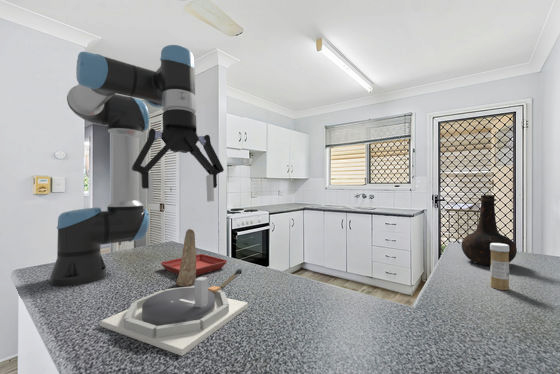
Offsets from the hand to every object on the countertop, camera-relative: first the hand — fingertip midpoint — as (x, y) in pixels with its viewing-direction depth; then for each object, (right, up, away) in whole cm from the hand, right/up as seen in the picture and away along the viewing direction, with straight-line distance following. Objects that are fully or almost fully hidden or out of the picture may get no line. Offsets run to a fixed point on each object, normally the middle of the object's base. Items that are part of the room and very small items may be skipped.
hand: (182, 202), depth 62 cm
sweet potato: (-7, -27, +23) cm, 36 cm away
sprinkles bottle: (+90, -28, +20) cm, 96 cm away
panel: (-1, -27, +1) cm, 27 cm away
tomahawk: (+7, -28, +25) cm, 38 cm away
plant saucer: (-10, -28, +39) cm, 49 cm away
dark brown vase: (+107, -28, +47) cm, 120 cm away
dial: (-1, -26, +1) cm, 26 cm away
